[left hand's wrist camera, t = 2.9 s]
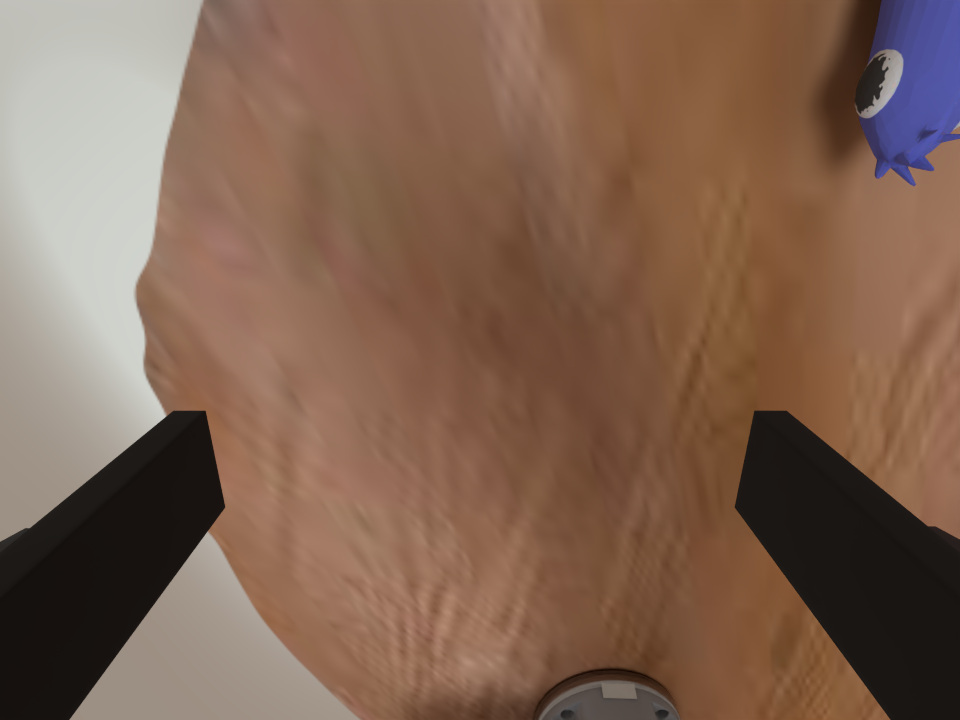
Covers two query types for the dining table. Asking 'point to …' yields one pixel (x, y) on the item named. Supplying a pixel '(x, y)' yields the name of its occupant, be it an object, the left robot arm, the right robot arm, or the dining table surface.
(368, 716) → the dining table surface
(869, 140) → the toy
